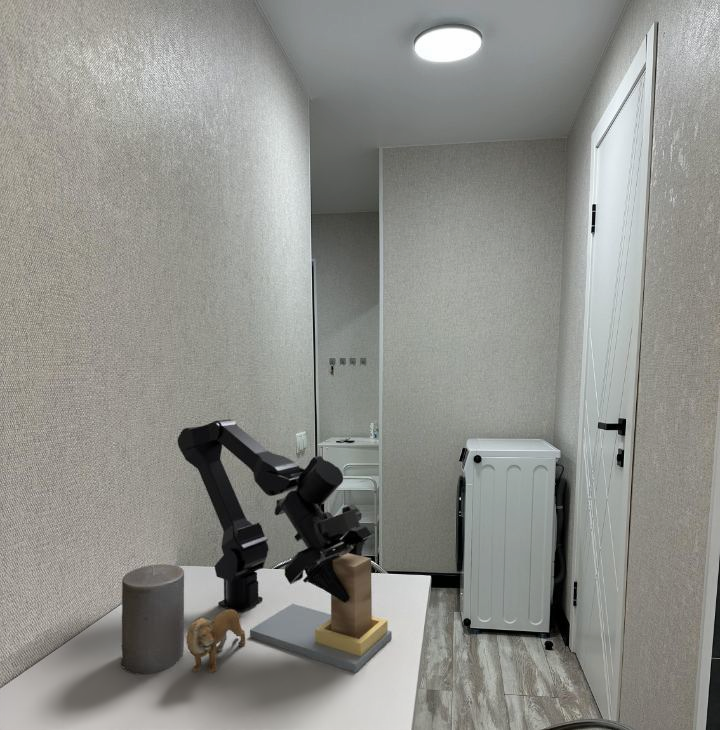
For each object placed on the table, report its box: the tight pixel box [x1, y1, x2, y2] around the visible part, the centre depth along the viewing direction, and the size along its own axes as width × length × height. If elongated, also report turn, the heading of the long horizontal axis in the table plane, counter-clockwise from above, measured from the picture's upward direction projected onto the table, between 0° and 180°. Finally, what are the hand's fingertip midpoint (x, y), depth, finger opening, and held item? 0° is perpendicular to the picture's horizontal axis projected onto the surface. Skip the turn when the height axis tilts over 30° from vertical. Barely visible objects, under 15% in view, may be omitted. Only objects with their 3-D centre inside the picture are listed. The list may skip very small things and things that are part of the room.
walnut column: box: [330, 553, 373, 639], centre depth 90 cm, size 5×5×13 cm
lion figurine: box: [185, 609, 246, 674], centre depth 85 cm, size 15×5×9 cm, turn 167°
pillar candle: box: [120, 563, 185, 675], centre depth 86 cm, size 10×10×15 cm
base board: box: [249, 603, 393, 673], centre depth 92 cm, size 22×12×3 cm, turn 59°
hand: (357, 594), depth 89 cm, fingers open, 6 cm apart
